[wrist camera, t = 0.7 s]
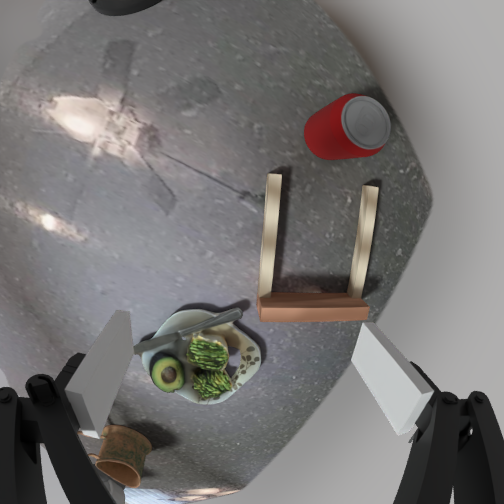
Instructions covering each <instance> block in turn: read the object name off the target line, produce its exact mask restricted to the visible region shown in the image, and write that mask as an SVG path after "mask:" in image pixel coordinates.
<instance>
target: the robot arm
mask: <svg viewBox="0 0 504 504" xmlns="http://www.w3.org/2000/svg"><path fill="white" fill-rule="evenodd" d="M159 1H161V0H89V2H90V3H91V5H92V6H93V7H94V8H95V9H96V10H97V11H98V12H99V13H101V14H104V15H109V16H121V15H127V14H131V13H135V12H138V11H141V10H143V9H146V8H148V7H150V6H152V5H154V4H156V3H158V2H159ZM133 355H134V347H133V339H132V330H131V320H130V312H129V311H121V310H116V312H115V313H114V315H113V316H112V317H111V319H110V320H109V322H108V323H107V325H106V326H105V328H104V329H103V330H102V332H101V333H100V335H99V336H98V338H97V339H96V341H95V342H94V344H93V345H92V347H91V348H90V350H89V351H88V353H87V354H82V353H77V354H75V355H74V356H72V357H71V358H70V359H69V360H68V362H67V363H66V366H64V368H63V369H62V371H61V372H60V373H59V375H58V376H57V378H56V379H55V381H54V380H53V378H52V377H50V376H49V375H45V374H37V375H34V376H32V377H31V378H29V379H28V380H27V382H26V386H25V388H26V391H27V393H28V395H29V397H30V398H24V397H18V395H17V393H16V391H15V390H14V389H12V388H10V387H2V388H0V504H47V501H46V495H45V489H44V482H43V475H42V466H41V455H40V443H44V444H45V447H46V449H47V452H48V455H49V458H50V460H51V463H52V465H53V467H54V470H55V472H56V475H57V477H58V479H59V481H60V484H61V486H62V488H63V490H64V492H65V494H66V496H67V498H68V500H69V502H70V504H117V503H116V502H115V500H114V499H113V497H112V496H111V494H110V493H109V491H108V489H107V488H106V486H105V485H104V483H103V481H102V480H101V478H100V476H99V475H98V473H97V471H96V469H95V468H94V466H93V464H92V462H91V460H90V458H89V456H88V455H87V453H86V451H85V449H84V447H83V445H82V443H81V441H80V439H79V436H78V434H77V432H78V430H79V428H81V430H82V432H83V434H84V435H87V436H90V437H94V438H98V439H100V436H101V434H102V431H103V428H104V426H105V423H106V420H107V418H108V415H109V412H110V410H111V407H112V405H113V402H114V400H115V397H116V395H117V392H118V390H119V387H120V385H121V383H122V380H123V378H124V375H125V373H126V371H127V368H128V366H129V364H130V361H131V359H132V357H133ZM351 361H352V362H353V364H354V366H355V367H356V369H357V370H358V372H359V374H360V375H361V377H362V378H363V380H364V382H365V383H366V385H367V386H368V388H369V390H370V391H371V393H372V394H373V396H374V398H375V399H376V401H377V402H378V404H379V406H380V407H381V409H382V410H383V412H384V414H385V415H386V417H387V419H388V420H389V422H390V423H391V425H392V427H393V429H394V430H395V432H396V434H397V435H400V434H404V433H407V432H410V430H411V429H412V427H413V426H414V424H416V425H417V427H418V429H417V430H416V432H415V433H414V435H413V436H412V438H411V439H410V441H409V443H411V441H412V440H413V443H412V447H411V451H410V454H409V458H408V461H407V465H406V468H405V471H404V475H403V477H402V480H401V483H400V486H399V489H398V492H397V495H396V497H395V500H394V503H393V504H449V503H450V498H451V494H452V488H454V489H453V490H454V504H504V439H503V436H502V433H501V430H500V427H499V425H498V422H497V419H496V416H495V414H494V411H493V408H492V406H491V403H490V401H489V399H488V397H487V396H486V395H485V394H484V393H482V392H479V391H473V392H471V394H470V395H469V397H468V399H458V398H457V396H456V395H454V394H452V393H450V392H441V391H440V390H439V389H438V387H437V386H436V385H435V384H434V383H433V382H432V381H431V379H430V378H428V376H427V375H426V374H425V373H424V372H423V371H422V369H421V368H420V367H419V366H418V365H416V364H414V363H413V362H409V361H408V360H407V359H406V358H405V357H404V356H403V354H402V353H401V352H400V351H399V350H398V349H397V348H396V347H395V345H394V344H393V343H392V342H391V341H390V340H389V339H388V338H387V337H386V335H385V334H384V333H383V332H382V331H381V330H380V329H379V328H378V327H377V326H376V324H375V323H374V322H368V323H363V324H362V327H361V330H360V334H359V337H358V340H357V344H356V347H355V350H354V353H353V356H352V359H351ZM471 429H473V432H472V434H470V430H471Z"/></svg>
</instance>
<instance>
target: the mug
mask: <svg viewBox="0 0 504 504" xmlns="http://www.w3.org/2000/svg"><path fill="white" fill-rule="evenodd" d="M77 434H81V435H84V434H83V432H82V431H78V432H77ZM84 436H87V435H84ZM87 437H90V436H87ZM100 437H101V438H103V439H104V440H103V444H102V447H101V449H100V452H99V455H96V454H92V453H91V454H88V456H93V457H95V458H97V461H96V464H95V465H96V467H97V468H98V469H100V470H101V471H103V472H104V473H106V474H107V475H109V476H110V477H112V478H113V479H115V480H116V481H118V482H120V483H122V484H124V485H126V486H129V487H132V488H137V487H139V485H140V483H141V477H142V471H143V466H144V462H145V457H146V455H148V454H149V453H150V452H151V450H152V445H151V443H150V441H149V440H148V439H147V438H146V437H145V436H144V435H142V434H141V433H139V432H137V431H135V430H133V429H131V428H128V427H125V426H121V425H108V426H106V427H104V428H103V431H102V435H101V436H100Z"/></svg>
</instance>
